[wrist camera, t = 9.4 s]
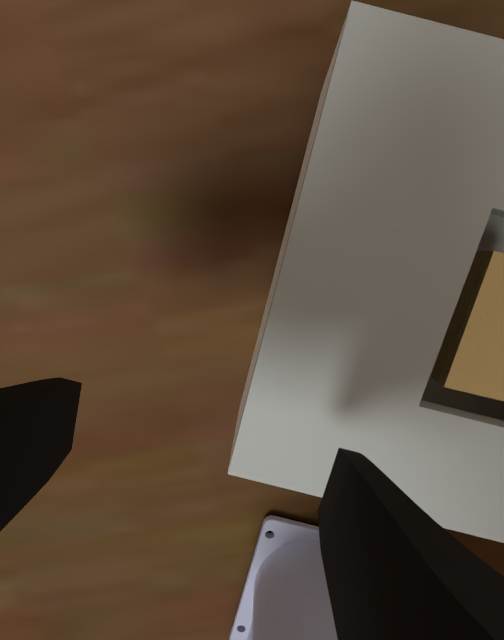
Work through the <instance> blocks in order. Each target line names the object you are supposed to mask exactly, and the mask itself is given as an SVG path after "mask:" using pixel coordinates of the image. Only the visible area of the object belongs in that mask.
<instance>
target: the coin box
mask: <svg viewBox="0 0 504 640" xmlns="http://www.w3.org/2000/svg"><path fill="white" fill-rule="evenodd" d="M476 251H497V252H501V253H504V39H500V38H496V37H493V36H489V35H485V34H481V33H477V32H473V31H469V30H465V29H461V28H457V27H453V26H450V25H446V24H442V23H438V22H434V21H430V20H426V19H422V18H418V17H414V16H411V15H407V14H403V13H399V12H395V11H391V10H387V9H383V8H379V7H375V6H371V5H368V4H364V3H360V2H356V1H351V4H350V7H349V10H348V13H347V16H346V19H345V22H344V25H343V28H342V31H341V34H340V37H339V40H338V43H337V46H336V49H335V52H334V55H333V58H332V61H331V64H330V67H329V70H328V73H327V76H326V79H325V82H324V85H323V88H322V91H321V94H320V98H319V102H318V106H317V110H316V114H315V117H314V121H313V125H312V129H311V133H310V137H309V141H308V144H307V148H306V152H305V156H304V160H303V164H302V168H301V172H300V175H299V179H298V183H297V187H296V191H295V195H294V199H293V202H292V206H291V210H290V214H289V218H288V222H287V226H286V229H285V233H284V237H283V241H282V245H281V249H280V253H279V257H278V260H277V264H276V268H275V272H274V276H273V280H272V284H271V287H270V291H269V295H268V299H267V303H266V307H265V311H264V314H263V318H262V322H261V326H260V330H259V334H258V338H257V342H256V345H255V349H254V353H253V357H252V361H251V365H250V369H249V372H248V376H247V380H246V384H245V388H244V392H243V396H242V399H241V403H240V408H239V413H238V419H237V424H236V430H235V435H234V441H233V446H232V452H231V457H230V463H229V468H228V474H230V475H234V476H238V477H242V478H246V479H250V480H254V481H258V482H262V483H266V484H270V485H274V486H278V487H282V488H286V489H290V490H294V491H298V492H302V493H306V494H310V495H314V496H318V497H323V494H324V491H325V488H326V485H327V482H328V479H329V476H330V473H331V470H332V467H333V464H334V461H335V458H336V455H337V452H338V449H339V448H343V449H347V450H351V451H355V452H359V453H361V454H363V455H364V456H365V457H367V458H368V459H369V460H370V461H371V462H372V463H374V464H375V465H376V466H377V467H378V468H379V469H380V470H381V471H382V472H383V473H384V474H385V475H386V476H387V477H388V478H389V479H391V480H392V481H393V482H394V483H395V484H396V485H397V486H398V487H399V488H400V489H401V490H402V491H403V492H404V493H405V494H406V495H407V496H408V497H409V498H410V499H412V500H413V501H414V502H415V503H416V504H417V505H418V506H419V507H420V508H421V509H422V510H423V511H424V512H426V513H427V514H428V515H429V516H430V517H431V518H432V519H433V520H434V521H436V522H437V523H438V524H439V525H440V526H441V527H442V528H446V529H450V530H454V531H458V532H462V533H466V534H470V535H474V536H478V537H482V538H486V539H490V540H494V541H498V542H502V543H504V401H500V400H496V399H492V398H488V397H484V396H479V395H475V394H471V393H467V392H463V391H458V390H454V389H450V388H446V387H443V386H442V385H441V384H439V383H438V382H437V381H435V380H434V379H433V378H432V377H430V374H431V372H432V369H433V366H434V364H435V361H436V358H437V355H438V353H439V350H440V347H441V345H442V342H443V339H444V337H445V334H446V331H447V329H448V326H449V323H450V321H451V318H452V315H453V313H454V310H455V307H456V305H457V302H458V299H459V296H460V294H461V291H462V288H463V286H464V283H465V280H466V278H467V275H468V272H469V270H470V267H471V264H472V262H473V259H474V256H475V254H476Z"/></svg>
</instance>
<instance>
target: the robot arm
mask: <svg viewBox="0 0 504 640" xmlns="http://www.w3.org/2000/svg"><path fill="white" fill-rule="evenodd" d="M81 385H82V383H80V382H76V381H72V380H68V379H64V378H51V379H44V380H39V381H33V382H29V383H24V384H19V385H14V386H10V387H5V388H0V531H1V530H2V529H3V528H4V527H5V526H6V525H7V524H8V523H9V522H10V521H11V520H12V519H13V518H14V517H15V516H16V515H17V514H18V513H19V511H20V510H21V509H22V508H23V507H24V506H25V505H26V504H27V503H28V502H29V501H30V500H31V499H32V498H33V497H34V496H35V495H36V494H37V493H38V491H39V490H40V489H41V488H42V487H43V486H44V485H45V484H46V483H47V482H48V480H49V479H50V478H51V477H52V475H53V474H54V473H55V471H56V470H57V469H58V467H59V466H60V465H61V463H62V462H63V460H64V459H65V458H66V456H67V455H68V453H69V452H70V451H71V449H72V442H73V436H74V429H75V423H76V417H77V410H78V404H79V397H80V391H81ZM318 522H319V527H317V526H313V525H309V524H305V523H301V522H297V521H293V520H289V519H285V518H281V517H277V516H272V515H270V516H267V517H266V518H265V519H264V521H263V524H262V528H261V531H260V534H259V538H258V541H257V545H256V548H255V551H254V555H253V558H252V561H251V565H250V568H249V572H248V575H247V578H246V582H245V585H244V589H243V592H242V595H241V599H240V602H239V605H238V609H237V612H236V616H235V619H234V622H233V626H232V629H231V632H230V640H504V577H503V576H502V575H500V574H499V573H498V572H496V571H495V570H494V569H493V568H491V567H490V566H489V565H487V564H486V563H485V562H483V561H482V560H481V559H480V558H478V557H477V556H476V555H474V554H473V553H472V552H471V551H470V550H468V549H467V548H466V547H465V546H463V545H462V544H461V543H460V542H459V541H457V540H456V539H455V538H454V537H453V536H452V535H451V534H449V533H448V532H447V531H446V530H445V529H444V528H442V527H441V526H440V525H439V524H438V523H437V522H436V521H434V520H433V519H432V518H431V517H430V516H429V515H428V514H427V513H426V512H424V511H423V510H422V509H421V508H420V507H419V506H418V505H417V504H416V503H415V502H414V501H413V500H412V499H410V498H409V497H408V496H407V495H406V494H405V493H404V492H403V491H402V490H401V489H400V488H399V487H398V486H397V485H396V484H395V483H394V482H393V481H392V480H391V479H389V478H388V477H387V476H386V475H385V474H384V473H383V472H382V471H381V470H380V469H379V468H378V467H377V466H376V465H375V464H374V463H372V462H371V461H370V460H369V459H368V458H367V457H365V456H364V455H363V454H361V453H359V452H355V451H351V450H347V449H343V448H339V449H338V452H337V455H336V458H335V461H334V464H333V467H332V470H331V473H330V476H329V479H328V482H327V485H326V488H325V491H324V494H323V497H322V500H321V503H320V506H319V509H318ZM267 531H272V533H267Z"/></svg>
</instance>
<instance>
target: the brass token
mask: <svg viewBox="0 0 504 640" xmlns="http://www.w3.org/2000/svg"><path fill="white" fill-rule="evenodd" d="M430 377H432V378H433V379H434V380H435V381H437V382H438V383H439V384H441V385H442V386H443V387H446V388H450V389H454V390H458V391H463V392H467V393H471V394H475V395H479V396H484V397H488V398H492V399H496V400H500V401H504V253H501V252H497V251H476V254H475V256H474V259H473V262H472V264H471V267H470V270H469V272H468V275H467V278H466V280H465V283H464V286H463V288H462V291H461V294H460V296H459V299H458V302H457V305H456V307H455V310H454V313H453V315H452V318H451V321H450V323H449V326H448V329H447V331H446V334H445V337H444V339H443V342H442V345H441V347H440V350H439V353H438V355H437V358H436V361H435V364H434V366H433V369H432V372H431V374H430Z"/></svg>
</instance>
